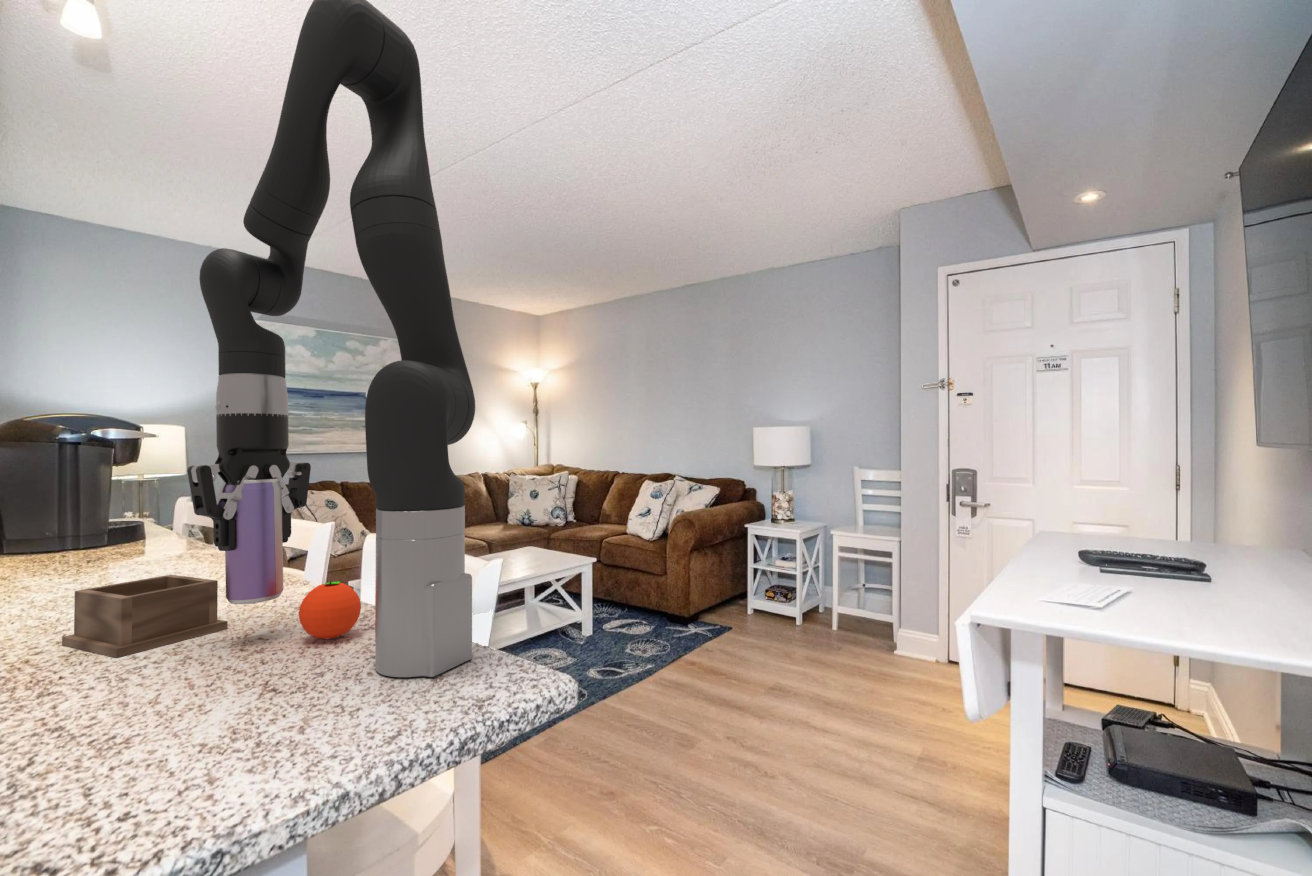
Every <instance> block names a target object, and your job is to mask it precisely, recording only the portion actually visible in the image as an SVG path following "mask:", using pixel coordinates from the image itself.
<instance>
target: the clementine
mask: <svg viewBox="0 0 1312 876" xmlns="http://www.w3.org/2000/svg"><path fill="white" fill-rule="evenodd" d="M361 604H362V603H361V599H360V597H359V595H358V593H357V592H356V591H355V590H354V588H352V587H351V586H350V585H348V584H346V583H342V581H339V580H338V581H327V582H326V583H322V584H319V585H316V587H314V588H312V589H311V590H310V591H309V592H308V593H307V594H306V595H305V596H304V597H303V599H302V601H301V603H300V606H299V608H298V609H299V610H298V619H299V622H300V624H301V627H302V629H303V631H305V632H306V633H307V634H308V635H310V636H311V637H314V638H316V639H321V640H331V639H336V638H338V637H340V636H342V635H343V636H344V635H345V634H346V633H347V632H349V631H350V630H351V629H353V627H354V626H355V625H356V624H357V622H358V620H359V618H360V615H361V610H362V605H361Z"/></svg>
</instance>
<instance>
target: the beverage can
mask: <svg viewBox="0 0 1312 876" xmlns="http://www.w3.org/2000/svg"><path fill="white" fill-rule="evenodd" d="M279 480H280V479H279V478H278V479H262V480H244V486H243V488H242V491H241V492H242V499H241V501H239V502H237V510H236V512H235V514H234V516H233V518H231V520H235V549H234V550H232V551H224V554H225V559H224V561H225V562H224V563H225V564H224V565H225V566H224V567H225V569H224V571H225V599H226V600H227V601H228V602H229V603H230V604H233V605H250V604H257V603H265V602H268V601H272V600H275V599H278V598H279V597H280V596H281V595H282V593H283V591H284V547H283V536H282V487H281V485H280V482H279ZM238 482H239V480H238V481H237V484H238ZM237 484H236V485H226V487H225V490H224V491H225V493H232V492H233V491H234V490H235V488H236V486H237ZM226 502H227V500H226Z"/></svg>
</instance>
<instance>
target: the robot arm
mask: <svg viewBox="0 0 1312 876" xmlns="http://www.w3.org/2000/svg"><path fill="white" fill-rule="evenodd" d="M420 68H421V67H420V62H419V59H418V53H417V51H416V48H415V45H414V44H413V42H412V41H411V39H410V37H408V35H407V33H406V32H404V30H402V28H401V27H400V26H398V25H397V24H396V23H395V22H394V21H392V20H391V19H390V18H389V17H388V16H386V15H385V14H384V13H383V12H381V11H380V10H379V9H378V8H377V7H375V6H374V5H373V4H371V2H369V1H368V0H313V1H312V2H311V4H310V6H309V8H308V10H307V12H306V15H305V17H304V20H303V22H302V25H301V28H300V32H299V35H298V40H297V43H296V48H295V51H294V55H293V59H292V63H291V68H290V72H289V77H288V79H287V80H288V81H287V84H286V88H285V89H286V90H285V93H284V98H283V102H282V106H281V112H280V115H279V116H280V117H279V120H278V125H277V128H276V129H277V130H276V133H275V137H274V141H273V145H272V148H271V150H270V153H269V156H268V159H267V162H266V164H265V167H264V168H263V171H262V172H261V173H262V174H261V175H260V178H259V180H258V182H257V185H256V187H255V189H254V191H253V194H252V196H251V199H250V201H249V204H248V205H247V208H246V210H245V213H244V215H243V216H244V217H243V221H242V223H243V227H244V229H245V230H246V232H248V234H250V235H251V236H252V237H254V238H255V239H256V240H258V241H259V242H262V243H263V244H265V245H267V246H269V255H268V257H267V258H263V257H260V256H257V255H253V254H249V253H246V252H243V251H240V250H236V249H233V248H227V247H226V248H225V247H224V248H217V249H215V250H212V251H211V252H210V253H209V254H207V255H206V257H205V258H204V260H203V261H202V264H201V266H200V268H199V269H200V270H199V285H200V291H201V296H202V298H203V301H204V304H205V305H206V309H207V311H208V315H209V317H210V322H211V325H212V328H213V330H214V334H215V337H216V341H217V346H218V348H217V349H218V351H217V352H218V353H217V354H218V358H217V360H218V376H217V377H218V379H217V380H218V381H217V387H216V393H215V394H216V395H215V411H216V412H215V413H216V415H215V416H216V417H215V419H216V420H215V421H216V422H215V423H216V449H217V452H218V456H217V458H216V460H215V462H214V463H213V464H204V465H202V464H201V465H200V464H199V465H196V464H195V465H191V466H189V467H187V470H186V471H187V478H188V483H189V489H190V490H189V491H190V495H191V496H190V497H191V501H192V506H193V507H192V508H193V512H194V514H195V515H197V516H202V517H206V518H209V519H211V520H212V521H213V523H212V524H213V526H212V527H213V529H212V531H213V545H214V546H215V547H217V549H218V551H221V552H225V551H232V550H234V549H235V520H231V518H233V516H234V514H235V512H236V510H237V502H239V501H241V499H242V492H241V491H242V488H243V486H244V480H262V479H278V478H279V479H280V480H279V482H280V485H281V487H282V536H283V543H284V544H285V543H288V541H289V538H291V536H292V513H293V512H294V511H295V510H297V509H299V508H303V507H306V505H307V502H308V493H309V486H310V477H311V467H312V465H311V464H310V463H309V462H293V461H292V462H291V461H290V460H289V458H288V455H287V451H288V448H289V445H290V443H289V395H288V388H287V381H286V380H287V379H286V343H285V341H284V339H283V337H281V335H280V334H277V333H275V332H274V331H271V330H269V329H267V328H265V327H263V326H261V325H260V324H259V323H257V322H256V320H255V318H254V316H253V314H252V313H256V314H260V315H265V316H268V317H269V316H270V317H282V316H284V315H286V314H287V313H289V312H291V311H292V310H293V309H294V308H295V307H296V306H297V304H298V302H299V300H300V298H301V295H302V290H303V281H304V272H305V267H306V259H307V254H308V253H307V251H308V247H309V242H310V240H311V238H312V235H313V234H314V231H315V229H316V227H317V225H318V223H319V221H320V219H321V217H322V215H323V213H324V210H325V208H326V205H327V204H328V203H327V202H328V201H329V200H328V199H329V195H330V189H331V171H330V160H329V154H328V153H329V152H328V140H327V123H328V116H329V112H330V111H329V110H330V107H331V104H332V101H333V98H334V97H335V94H336V92H337V90H338V89H339V87H340V85H341V86H343V87H344V88H345V89H348V90H349V91H351V92H352V93H353V94H356V95H357V96H358V97H360V98H361V99H362V101H363V103H364V105H365V108H366V112H367V115H368V121H369V125H370V126H369V127H370V132H371V133H370V134H371V148H370V151H369V153H368V155H367V157H366V158H365V160H364V162H363V164H362V165H361V167H360V169H359V170H358V172H357V174H356V175H355V176H356V177H355V178H354V180H353V182H352V186H351V188H350V195H349V208H350V215H351V220H352V228H353V233H354V241H355V245H356V250H357V253H358V257H359V260H360V262H361V265H362V268H363V270H364V272H365V274H366V276H367V278H368V281H369V282H370V285H371V286H372V288H373V290H374V293H375V294H376V296H377V298H378V299H379V301H380V303H381V305H382V307H383V309H384V310H385V312H386V314H387V316H388V319H389V320H390V322H391V325H392V327H393V329H394V333H395V335H396V339H397V343H398V347H399V353H400V360H396V361H393V362H390V363H388V364H386V365H385V366H383V367H382V368H381V369H380V370H378V371H377V372H376V374H375V375H374V377H373V379H372V380H371V382H370V383H369V386H368V389H367V394H366V397H365V398H366V399H365V408H364V421H365V422H364V427H365V428H364V429H365V444H366V445H365V446H366V447H365V448H366V449H365V451H366V467H367V469H366V470H367V476H368V480H369V484H370V486H371V489H372V490H373V492H374V498H375V508H376V509H375V596H374V597H375V602H374V603H375V604H374V605H375V610H374V611H375V612H374V613H375V618H374V619H375V620H374V621H375V623H374V625H375V631H374V632H375V633H374V634H375V641H374V642H375V646H374V647H375V656H374V661H375V663H374V664H375V665H374V666H375V667H374V668H375V670H376V672H377V673H378V674H380V675H382V676H387V677H391V678H414V677H415V678H416V677H428V678H435V677H436V676H439V675H440V674H442V673H445V672H447V671H448V670H450V669H453V668H455V667H458V666H459V665H461V664H464V663H465V662H468V661H469V660H472V658H473V576H472V574H470V573H467V572H466V571H465V570H466V569H465V568H466V566H465V565H466V558H465V557H466V555H465V554H466V553H465V552H466V546H465V545H466V544H465V543H466V538H465V535H466V532H465V531H466V521H465V520H466V511H465V510H466V506H465V505H466V491H465V488H466V487H465V484H464V482H463V481H462V479H460V478H459V477H458V476H457V475H456V474H455V473H454V471H453V469H452V467H451V465H450V461H449V460H450V459H449V445H453V444H456V443H457V442H459V441H461V440H462V439H463V438H464V437H465V436H466V435H467V434H468V433H469V431H470V429H471V427H472V425H473V421H474V420H475V414H476V399H475V393H474V388H473V385H472V382H471V378H470V374H469V371H468V367H467V365H466V360H465V357H464V353H463V350H462V347H461V343H460V338H459V335H458V331H457V327H456V322H455V318H454V311H453V306H452V305H453V304H452V298H451V297H452V296H451V291H450V284H449V279H448V275H447V274H448V273H447V269H446V262H445V255H444V249H443V239H442V235H441V229H440V228H441V227H440V221H439V217H438V211H437V205H436V202H435V201H436V200H435V198H434V197H435V196H434V190H433V187H432V180H431V173H430V165H429V158H428V153H427V147H426V140H425V138H426V137H425V127H424V126H425V125H424V115H423V114H424V113H423V94H422V79H421V78H422V77H421V71H420ZM217 475H218V476H219V477H220V478H221V480H222V481H223V483H222V485H221V487H220V489H219V491H218V492H217V494H216V492H215V485H214V483H215V481H216V479H217ZM285 475H286V476H287V477H288V483H287V485H286V483H285V481H284V479H283V478H284V477H285ZM238 480H239V482H238V484H237V481H238ZM236 484H237V486H236V488H235V490H234V491H233V492H232V493H225V491H224V490H225V487H226V485H236ZM226 500H227V502H226Z"/></svg>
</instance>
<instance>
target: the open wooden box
mask: <svg viewBox="0 0 1312 876" xmlns="http://www.w3.org/2000/svg"><path fill="white" fill-rule="evenodd" d="M218 581H219V580H215V579H208V578H200V577H199V578H198V577H192V576H187V575H186V576H184V575H176V574H168V575H167V574H166V575H160V576H155V577H149V578H148V577H147V578H142V579H138V580H137V579H136V580H132V581H125V582H121V583H114V584H110V585H109V584H107V585H102V586H96V587H90V588H85V589H78V590H74V608H73V609H74V612H73V613H74V619H73V620H74V621H73V623H74V625H73V634H68V635H66V636H62V637H61V640H62V641H61V646H65V647H69V648H73V649H78V650H81V651H85V652H90V653H93V654H97V655H102V656H103V655H104V656H108V657H112V658H116V659H117V658H118V659H119V658H121V657H125V656H129V655H134V654H137V653H140V652H144V651H147V650H152V649H155V648H159V647H160V648H161V647H163V646H167V645H171V644H175V643H178V642H182V641H186V640H189V639H194V638H198V637H200V636H205V635H209V634H213V633H215V632H216V633H217V632H221V631H225V630H227V629H228V620H222V619H218V600H219V599H218V593H219V591H218V588H219V587H218V586H219V585H218V584H219V583H218Z"/></svg>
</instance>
